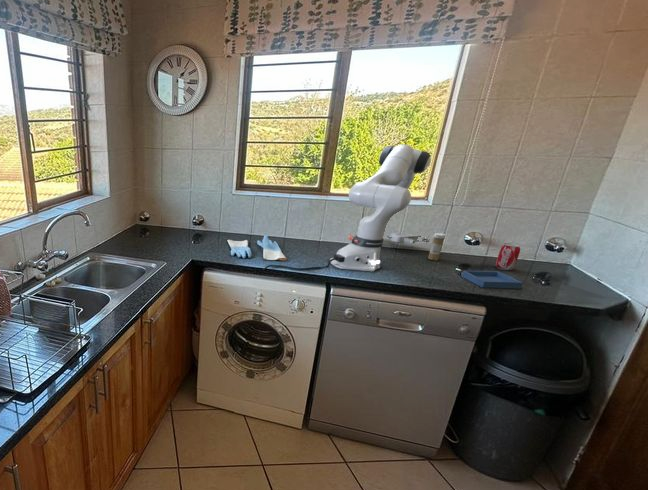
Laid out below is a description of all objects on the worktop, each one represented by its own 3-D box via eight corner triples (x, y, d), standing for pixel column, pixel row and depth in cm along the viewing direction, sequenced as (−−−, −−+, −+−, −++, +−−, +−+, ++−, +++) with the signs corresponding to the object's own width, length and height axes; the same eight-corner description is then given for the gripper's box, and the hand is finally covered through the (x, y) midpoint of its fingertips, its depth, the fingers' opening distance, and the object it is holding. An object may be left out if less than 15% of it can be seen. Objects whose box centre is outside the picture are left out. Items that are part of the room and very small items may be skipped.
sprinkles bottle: (439, 259, 205) (447, 234, 200) (435, 261, 203) (443, 235, 198) (430, 257, 209) (437, 232, 204) (425, 258, 206) (432, 233, 201)
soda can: (516, 272, 189) (524, 247, 185) (497, 270, 191) (506, 245, 187) (509, 267, 195) (517, 243, 191) (491, 265, 197) (499, 242, 193)
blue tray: (482, 287, 171) (484, 281, 170) (460, 276, 183) (462, 270, 182) (520, 288, 170) (522, 282, 169) (496, 277, 182) (498, 271, 181)
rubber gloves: (231, 258, 204) (232, 246, 201) (227, 241, 234) (228, 230, 232) (286, 261, 201) (288, 248, 198) (275, 243, 231) (276, 232, 229)
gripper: (385, 230, 220) (406, 236, 208) (416, 228, 225) (438, 234, 212) (383, 241, 223) (403, 248, 210) (413, 239, 227) (434, 245, 215)
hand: (421, 241), depth 211 cm, fingers open, 8 cm apart
